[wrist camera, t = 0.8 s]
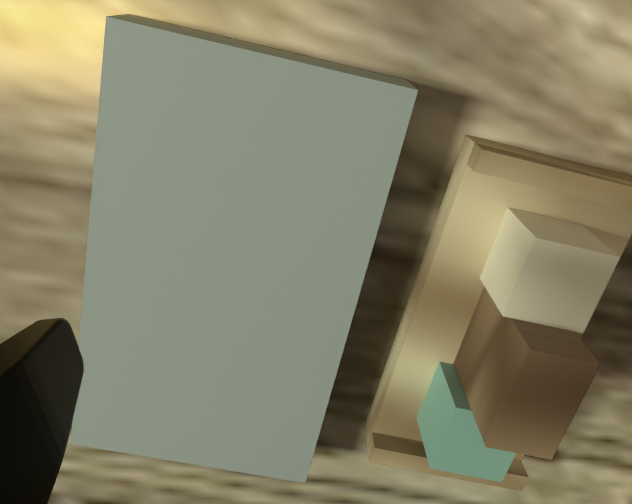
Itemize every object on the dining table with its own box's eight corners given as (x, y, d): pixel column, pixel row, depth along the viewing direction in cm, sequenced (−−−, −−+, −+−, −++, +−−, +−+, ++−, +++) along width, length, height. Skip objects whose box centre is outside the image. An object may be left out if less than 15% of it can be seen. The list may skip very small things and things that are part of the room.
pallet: (501, 443, 29) (556, 571, 23) (363, 417, 28) (379, 540, 22) (627, 173, 24) (746, 238, 17) (461, 131, 23) (520, 183, 17)
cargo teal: (481, 431, 26) (501, 482, 23) (416, 417, 26) (429, 468, 23) (506, 375, 25) (531, 422, 22) (439, 361, 25) (455, 407, 22)
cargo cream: (550, 293, 24) (583, 333, 21) (479, 278, 23) (502, 316, 21) (581, 224, 22) (620, 257, 20) (507, 207, 22) (535, 237, 19)
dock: (305, 443, 28) (305, 482, 26) (90, 405, 27) (70, 443, 25) (406, 80, 22) (418, 90, 19) (128, 14, 21) (106, 16, 18)
